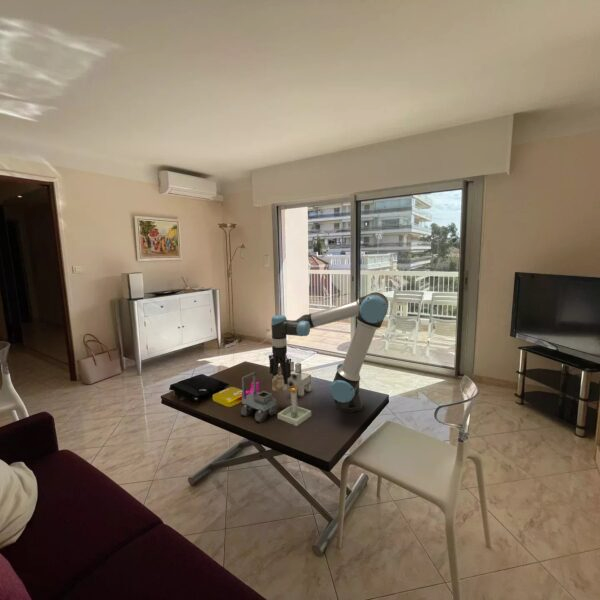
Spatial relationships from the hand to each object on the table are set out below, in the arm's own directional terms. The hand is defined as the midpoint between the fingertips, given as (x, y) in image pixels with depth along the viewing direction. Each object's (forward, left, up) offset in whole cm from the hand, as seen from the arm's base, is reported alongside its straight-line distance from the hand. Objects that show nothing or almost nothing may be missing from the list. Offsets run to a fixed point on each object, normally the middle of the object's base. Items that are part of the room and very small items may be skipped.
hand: (280, 388), depth 167 cm
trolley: (+5, +11, -11) cm, 17 cm away
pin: (-12, +3, -11) cm, 16 cm away
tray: (-12, +3, -11) cm, 17 cm away
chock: (0, 0, 0) cm, 0 cm away
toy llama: (+3, -21, -12) cm, 24 cm away
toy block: (+20, +1, -12) cm, 23 cm away
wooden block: (+25, -28, -12) cm, 39 cm away
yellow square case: (+30, +9, -12) cm, 34 cm away
